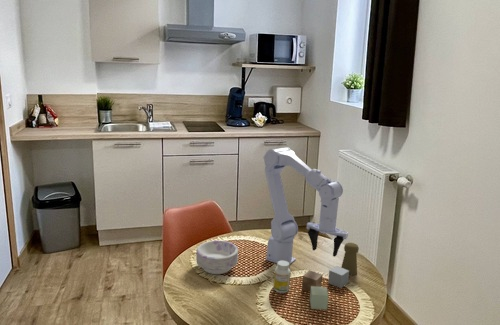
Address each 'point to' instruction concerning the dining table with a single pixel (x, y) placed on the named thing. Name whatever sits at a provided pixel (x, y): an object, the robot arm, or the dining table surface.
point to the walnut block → (311, 280)
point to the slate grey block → (338, 276)
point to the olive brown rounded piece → (350, 258)
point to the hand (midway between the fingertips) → (324, 252)
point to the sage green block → (319, 298)
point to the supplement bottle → (282, 277)
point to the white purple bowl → (217, 256)
